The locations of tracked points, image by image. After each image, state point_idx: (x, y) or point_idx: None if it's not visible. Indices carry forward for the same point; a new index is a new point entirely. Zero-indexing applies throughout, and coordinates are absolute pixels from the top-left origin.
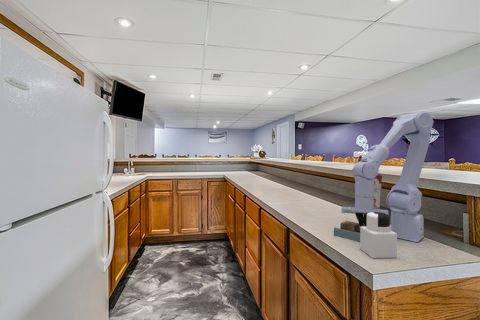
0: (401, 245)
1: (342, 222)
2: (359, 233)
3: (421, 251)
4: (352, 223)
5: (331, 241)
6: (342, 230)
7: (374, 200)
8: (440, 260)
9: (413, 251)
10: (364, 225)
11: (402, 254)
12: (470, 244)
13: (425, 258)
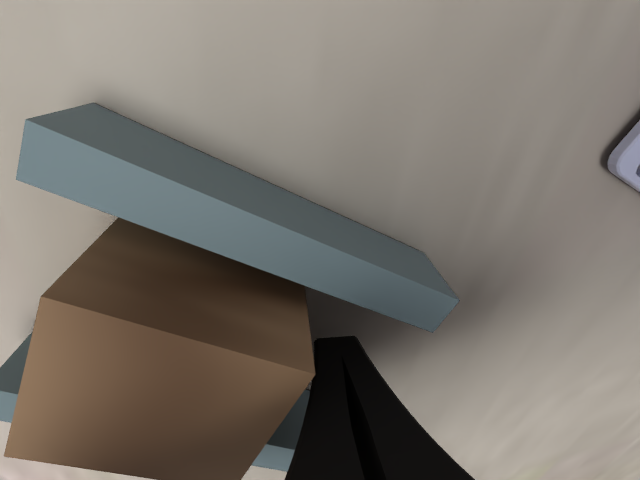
0: (575, 361)
1: (24, 431)
2: (291, 456)
3: (632, 405)
4: (197, 414)
5: (85, 473)
6: None
7: None
8: (635, 465)
9: (584, 421)
10: (364, 468)
11: (495, 473)
12: None
13: (580, 471)
